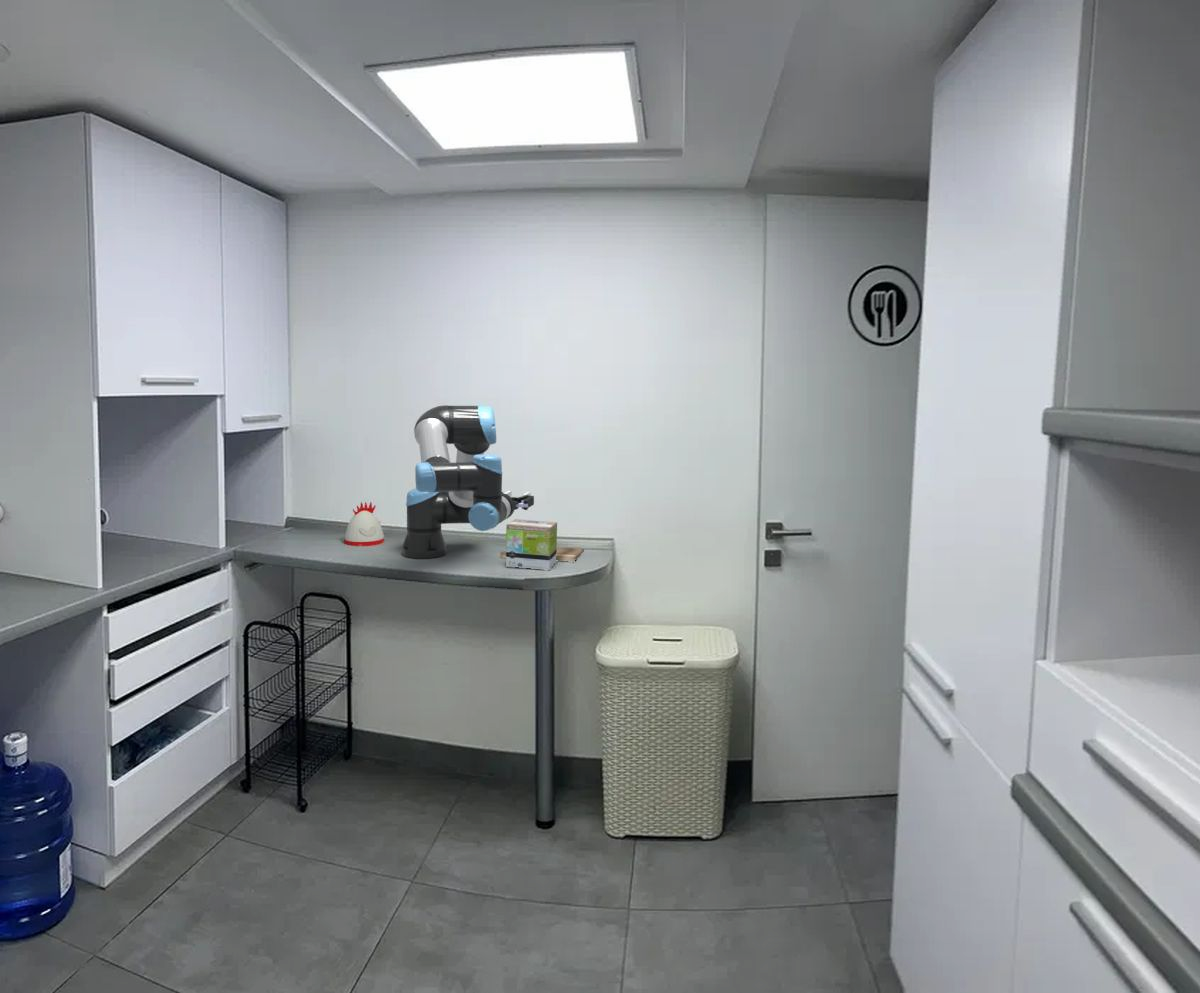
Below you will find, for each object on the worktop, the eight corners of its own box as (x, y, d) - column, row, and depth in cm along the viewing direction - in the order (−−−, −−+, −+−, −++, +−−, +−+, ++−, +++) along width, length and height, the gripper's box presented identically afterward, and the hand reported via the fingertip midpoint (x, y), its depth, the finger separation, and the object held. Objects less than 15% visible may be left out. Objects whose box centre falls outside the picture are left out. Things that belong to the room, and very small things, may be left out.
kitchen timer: (388, 544, 277) (387, 504, 275) (349, 547, 270) (348, 506, 268) (379, 537, 289) (378, 498, 287) (341, 540, 282) (340, 500, 280)
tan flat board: (500, 557, 261) (500, 552, 261) (514, 546, 278) (514, 541, 278) (574, 562, 257) (574, 556, 257) (583, 550, 274) (583, 545, 274)
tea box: (505, 568, 247) (505, 523, 245) (513, 561, 257) (514, 518, 255) (549, 571, 245) (550, 526, 242) (557, 564, 254) (557, 520, 252)
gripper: (466, 519, 211) (490, 506, 233) (530, 523, 208) (548, 509, 231) (466, 493, 210) (490, 482, 232) (530, 496, 207) (549, 484, 230)
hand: (519, 495), depth 231 cm, fingers open, 5 cm apart
